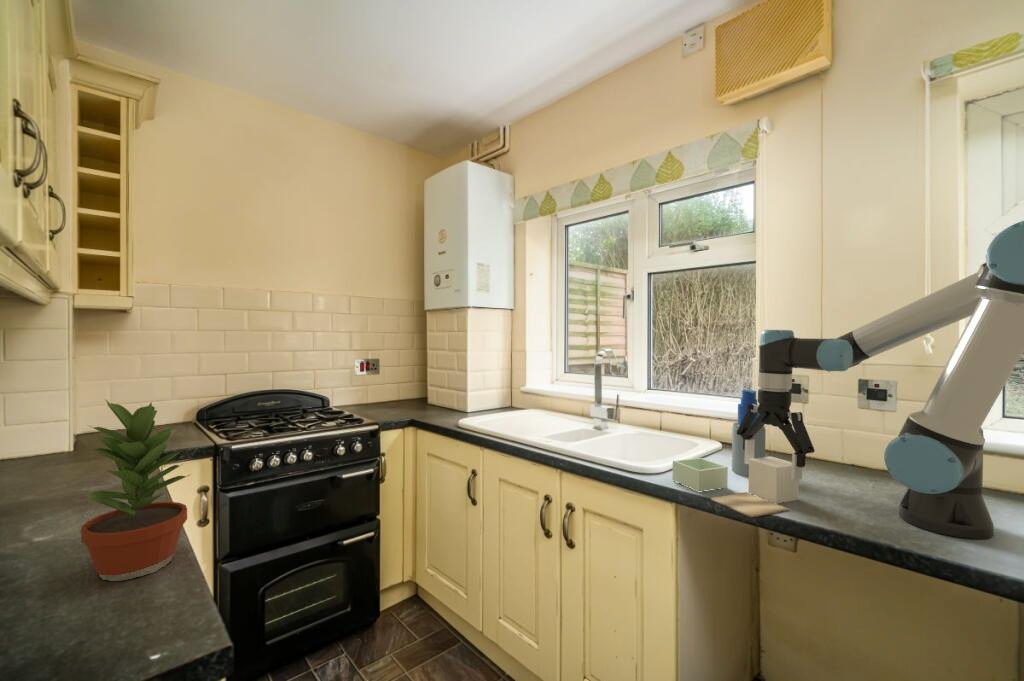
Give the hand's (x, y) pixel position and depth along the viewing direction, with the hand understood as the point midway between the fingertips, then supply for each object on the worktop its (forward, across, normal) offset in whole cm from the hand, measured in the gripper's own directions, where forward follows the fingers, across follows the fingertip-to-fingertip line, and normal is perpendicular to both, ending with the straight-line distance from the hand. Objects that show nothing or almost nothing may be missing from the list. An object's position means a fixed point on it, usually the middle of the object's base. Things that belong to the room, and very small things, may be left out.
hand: (771, 471), depth 117 cm
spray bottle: (+7, +16, -11) cm, 21 cm away
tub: (+7, +13, +11) cm, 19 cm away
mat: (+7, -3, +11) cm, 13 cm away
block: (+7, -1, 0) cm, 7 cm away
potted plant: (+8, +15, +138) cm, 139 cm away
